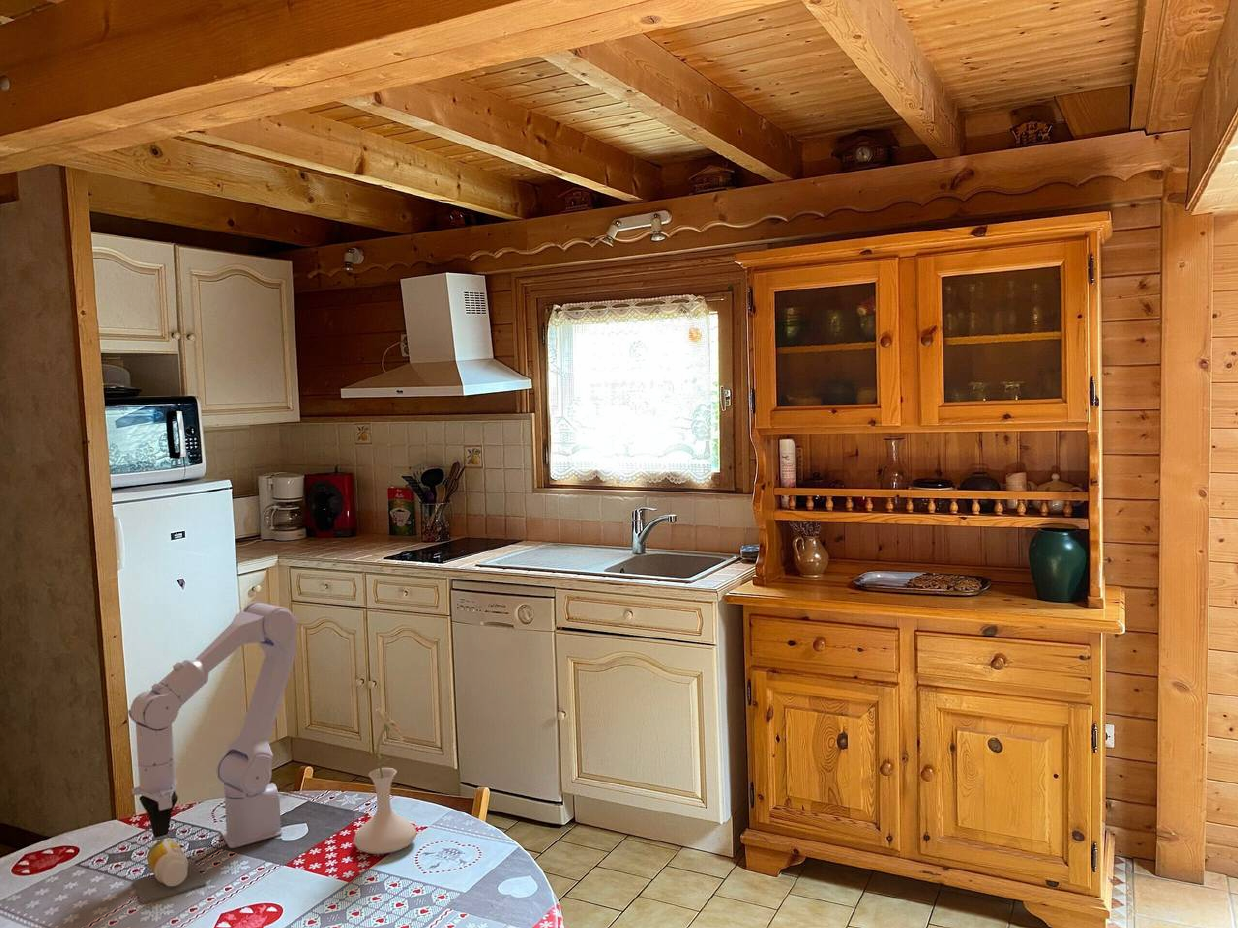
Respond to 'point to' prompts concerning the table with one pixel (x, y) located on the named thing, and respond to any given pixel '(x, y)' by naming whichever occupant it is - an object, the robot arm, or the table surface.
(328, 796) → the table surface
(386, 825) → the flower in vase
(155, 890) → the mat
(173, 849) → the supplement bottle
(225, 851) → the table surface
